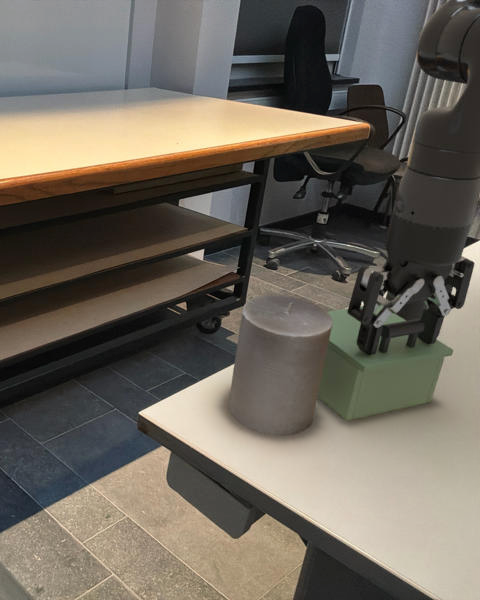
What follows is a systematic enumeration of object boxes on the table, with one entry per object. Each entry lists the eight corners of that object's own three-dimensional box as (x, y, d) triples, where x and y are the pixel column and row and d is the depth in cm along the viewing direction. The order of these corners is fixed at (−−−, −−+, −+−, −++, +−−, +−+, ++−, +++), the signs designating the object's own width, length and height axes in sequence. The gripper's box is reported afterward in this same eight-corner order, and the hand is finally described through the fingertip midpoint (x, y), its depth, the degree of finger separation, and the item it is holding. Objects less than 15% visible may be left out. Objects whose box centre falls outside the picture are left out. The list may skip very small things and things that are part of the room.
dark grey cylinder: (396, 334, 99) (410, 281, 95) (424, 352, 94) (440, 297, 91) (366, 339, 97) (379, 285, 93) (393, 358, 93) (408, 302, 89)
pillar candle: (283, 387, 85) (303, 280, 79) (328, 434, 77) (355, 318, 70) (212, 398, 83) (227, 288, 76) (251, 447, 75) (272, 329, 68)
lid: (451, 355, 78) (462, 324, 76) (363, 373, 74) (371, 340, 72) (377, 308, 89) (384, 279, 87) (296, 321, 85) (301, 291, 83)
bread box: (429, 407, 82) (446, 352, 79) (344, 426, 79) (358, 369, 75) (364, 359, 92) (376, 308, 89) (286, 374, 88) (295, 322, 85)
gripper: (404, 231, 65) (368, 373, 72) (514, 217, 70) (470, 353, 77) (352, 206, 72) (324, 339, 79) (456, 196, 76) (420, 322, 83)
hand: (396, 346), depth 78 cm, fingers open, 8 cm apart
